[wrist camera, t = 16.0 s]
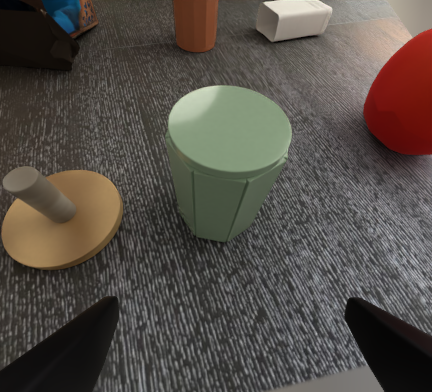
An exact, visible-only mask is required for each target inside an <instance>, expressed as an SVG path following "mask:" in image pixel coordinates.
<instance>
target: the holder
mask: <svg viewBox="0 0 432 392" xmlns="http://www.w3.org/2000/svg"><path fill="white" fill-rule="evenodd" d="M3 187H4V189H5V190H7V191H8V192H10V193H11V194H13V195H14V196H16V197H17V199H16V200H15V201H14V203H13V204H12V205H11V207H10V208H9V210H8V212H7V214H6V216H5V218H4V221H3V225H2V241H3V245H4V247H5V249H6V251H7V252H8V254H9V255H10V256H11V257H12V258H13V259H14V260H16V261H18V262H19V263H21V264H24V265H26V266H30V267H33V268H37V269H41V270H59V269H65V268H68V267H72V266H75V265H77V264H80V263H82V262H84V261H86V260H88V259H90V258H91V257H93V256H94V255H96V254H97V253H98V252H99V251H101V250H102V249H103V248H104V247H105V246H106V245H107V244H108V243H109V242H110V240H111V239H112V238H113V237H114V235H115V233H116V232H117V230H118V228H119V226H120V223H121V220H122V215H123V202H122V199H121V196H120V194H119V192H118V190H117V189H116V187H115V186H114V185H113V183H112V182H111V181H110V180H109V179H107V178H106V177H104V176H103V175H100V174H98V173H95V172H92V171H86V170H71V171H64V172H60V173H57V174H53V175H51V176H48V177H46V178H45V177H44V176H43V175H42V174H41V173H40V172H39V171H38V170H36V169H35V168H33V167H29V166H24V167H19V168H16V169H14V170H12V171H11V172H9V173H8V174H7V175H6V176H5V178H4V179H3Z"/></svg>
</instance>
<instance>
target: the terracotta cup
mask: <svg viewBox="0 0 432 392" xmlns="http://www.w3.org/2000/svg"><path fill="white" fill-rule="evenodd" d="M172 5H173V17H174V28H175V37H176V43H177V45H178V46H179V47H180V48H182V49H184V50H187V51H191V52H205V51H208V50H210V49H212V48H213V47H214V46H215V40H216V30H217V14H218V0H172Z"/></svg>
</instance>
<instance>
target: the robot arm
mask: <svg viewBox="0 0 432 392" xmlns="http://www.w3.org/2000/svg"><path fill="white" fill-rule="evenodd" d="M344 317H345V321H346V323H347V325H348V327H349V329H350V331H351V333H352V335H353V337H354V339H355V340H356V342H357V344H358V346H359V348H360V350H361V352H362V354H363V356H364V358H365V360H366V362H367V364H368V365H369V367H370V369H371V370H372V372H373V373H374V375H375V377H376V378H377V380H378V382H379V384H380V385H381V387H382V388H383V390H384V392H432V336H430V335H429V334H427V333H425V332H423V331H421V330H419V329H417V328H416V327H414V326H412V325H410V324H408V323H406V322H405V321H403V320H401V319H399V318H397V317H395V316H393V315H392V314H390V313H388V312H386V311H384V310H382V309H381V308H379V307H377V306H375V305H373V304H371V303H369V302H368V301H366V300H364V299H362V298H359V297H351V298H349V299H348V301H347V305H346V309H345V314H344ZM118 320H119V306H118V298H117V297H116V296H106V297H104V298H102V299H101V300H99V301H98V302H97V303H95V304H94V305H92V306H91V307H90V308H88V309H87V310H85V311H84V312H83V313H81V314H80V315H78V316H77V317H76V318H74V319H73V320H71V321H70V322H68V323H67V324H66V325H64V326H63V327H61V328H60V329H59V330H57V331H56V332H54V333H53V334H52V335H50V336H49V337H47V338H46V339H45V340H43V341H42V342H40V343H39V344H37V345H36V346H35V347H33V348H32V349H30V350H29V351H28V352H26V353H25V354H23V355H22V356H21V357H19V358H18V359H16V360H15V361H14V362H12V363H11V364H9V365H8V366H6V367H5V368H4V369H2V370H1V371H0V392H92V391H93V388H94V386H95V384H96V382H97V379H98V377H99V375H100V372H101V370H102V367H103V365H104V362H105V359H106V356H107V353H108V350H109V347H110V344H111V341H112V338H113V335H114V332H115V329H116V326H117V323H118Z"/></svg>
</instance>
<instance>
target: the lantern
mask: <svg viewBox="0 0 432 392" xmlns="http://www.w3.org/2000/svg"><path fill="white" fill-rule="evenodd" d="M97 24H98V20H97V17H96V14H95V11H94V8H93V5H92V2H91V0H0V65H7V66H22V67H33V68H50V69H60V70H68V71H69V70H71V69H72V67H71V65H72V63H73V62H74V58H75V56H76V55H77V54H78V52H79V49H80V47H79V46H78V44H77V43H76V42H75V41H74V40H73V39H76V38H77V37H78V36H80V35H81V34H83V33H84V32H86V31H89V30H90V29H91V28H93V27H95V26H96V25H97Z"/></svg>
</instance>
